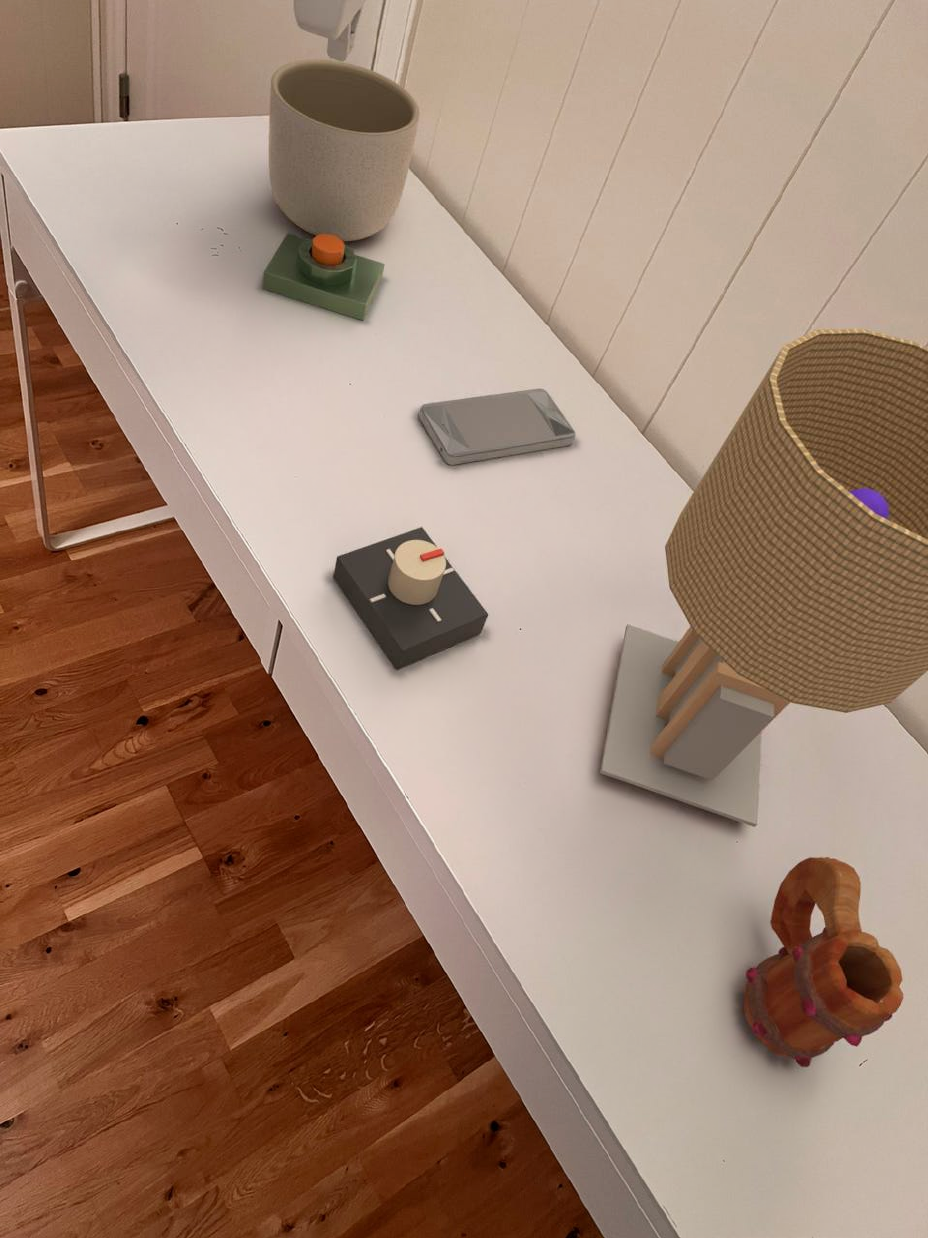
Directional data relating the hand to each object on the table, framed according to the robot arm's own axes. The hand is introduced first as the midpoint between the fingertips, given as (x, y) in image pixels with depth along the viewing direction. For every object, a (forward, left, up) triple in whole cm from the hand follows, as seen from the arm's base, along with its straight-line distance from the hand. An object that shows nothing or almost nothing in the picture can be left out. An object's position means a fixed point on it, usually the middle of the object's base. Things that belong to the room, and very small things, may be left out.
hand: (340, 53), depth 82 cm
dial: (+20, -38, -24) cm, 49 cm away
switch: (0, +5, -23) cm, 24 cm away
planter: (-3, +19, -27) cm, 33 cm away
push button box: (0, +5, -27) cm, 27 cm away
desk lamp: (+46, -43, -27) cm, 69 cm away
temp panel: (+20, -38, -27) cm, 51 cm away
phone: (+24, -11, -27) cm, 38 cm away
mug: (+54, -63, -27) cm, 87 cm away
